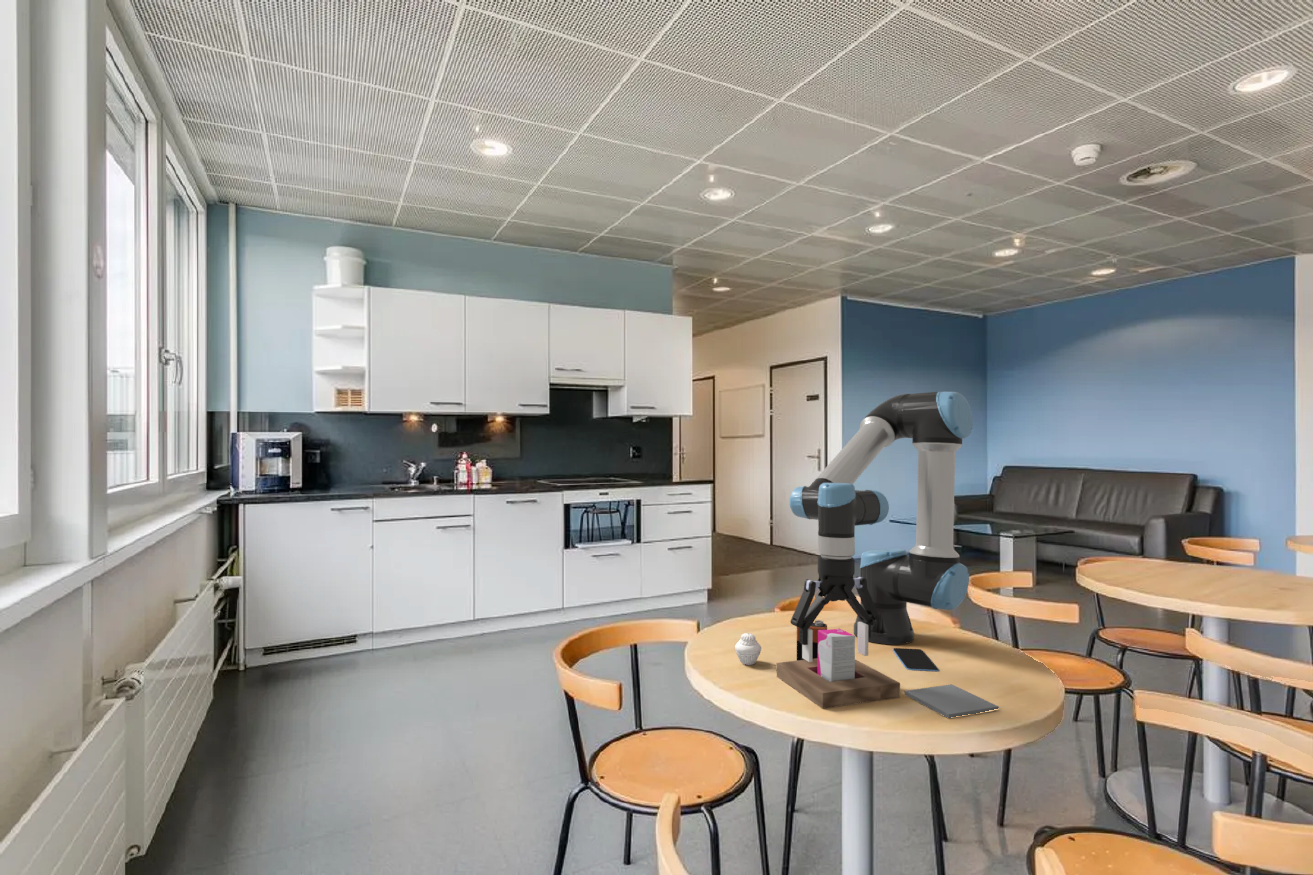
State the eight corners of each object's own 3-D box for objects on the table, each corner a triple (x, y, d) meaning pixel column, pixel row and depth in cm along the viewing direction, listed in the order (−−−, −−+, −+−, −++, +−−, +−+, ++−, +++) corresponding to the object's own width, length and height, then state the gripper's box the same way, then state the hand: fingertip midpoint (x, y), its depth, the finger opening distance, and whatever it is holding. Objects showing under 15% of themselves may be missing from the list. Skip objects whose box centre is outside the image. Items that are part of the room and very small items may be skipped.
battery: (826, 668, 146) (826, 624, 146) (796, 665, 148) (796, 622, 148) (827, 662, 150) (827, 619, 150) (797, 659, 152) (797, 617, 152)
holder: (846, 668, 146) (846, 654, 146) (899, 697, 129) (899, 682, 129) (776, 676, 141) (776, 662, 141) (822, 708, 124) (822, 693, 124)
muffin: (730, 660, 151) (730, 630, 151) (753, 657, 153) (753, 627, 154) (742, 668, 145) (742, 637, 146) (766, 665, 148) (766, 635, 148)
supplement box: (855, 690, 133) (856, 635, 133) (830, 693, 131) (831, 637, 131) (840, 680, 139) (840, 627, 139) (816, 683, 137) (816, 629, 137)
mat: (951, 687, 135) (951, 684, 135) (998, 710, 123) (998, 706, 123) (904, 694, 131) (904, 690, 131) (948, 718, 119) (948, 714, 119)
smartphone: (906, 668, 145) (891, 647, 160) (906, 672, 145) (891, 650, 160) (940, 669, 144) (922, 648, 159) (940, 673, 144) (922, 651, 159)
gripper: (874, 550, 143) (873, 646, 142) (774, 555, 135) (774, 656, 135) (896, 556, 136) (896, 656, 135) (793, 561, 128) (792, 668, 127)
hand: (835, 656), depth 135 cm, fingers open, 13 cm apart
